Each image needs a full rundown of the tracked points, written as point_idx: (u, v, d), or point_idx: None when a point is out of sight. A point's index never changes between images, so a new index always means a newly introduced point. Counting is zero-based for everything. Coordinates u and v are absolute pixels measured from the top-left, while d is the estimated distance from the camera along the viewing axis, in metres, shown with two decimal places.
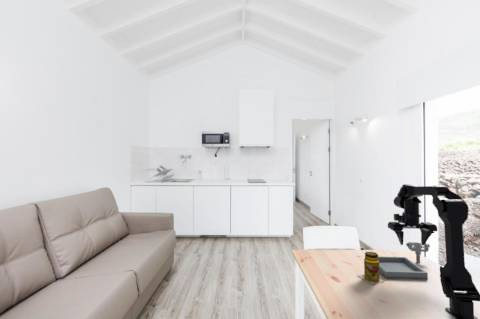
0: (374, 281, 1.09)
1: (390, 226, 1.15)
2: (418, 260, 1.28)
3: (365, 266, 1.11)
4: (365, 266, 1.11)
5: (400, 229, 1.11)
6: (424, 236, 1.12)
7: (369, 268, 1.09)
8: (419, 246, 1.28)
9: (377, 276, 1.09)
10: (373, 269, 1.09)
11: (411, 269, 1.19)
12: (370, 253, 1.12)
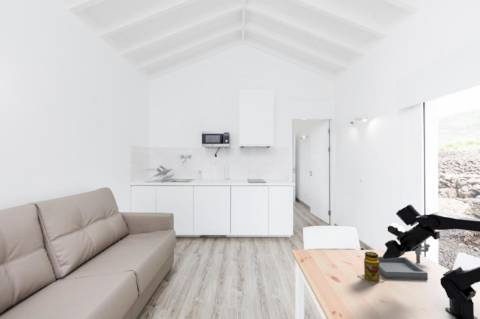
0: (374, 281, 1.09)
1: (391, 249, 0.96)
2: (418, 260, 1.28)
3: (365, 266, 1.11)
4: (365, 266, 1.11)
5: (401, 255, 0.96)
6: (404, 249, 1.05)
7: (369, 268, 1.09)
8: None
9: (377, 276, 1.09)
10: (373, 269, 1.09)
11: (411, 269, 1.19)
12: (370, 253, 1.12)
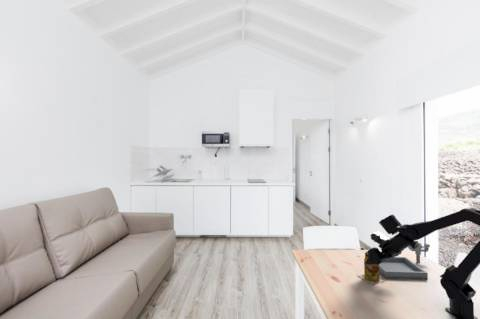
0: (374, 281, 1.09)
1: (373, 256, 1.02)
2: (418, 260, 1.28)
3: (365, 266, 1.11)
4: (365, 266, 1.11)
5: (381, 262, 1.02)
6: (385, 256, 1.11)
7: (369, 268, 1.09)
8: (419, 246, 1.28)
9: (377, 276, 1.09)
10: (373, 269, 1.09)
11: (411, 269, 1.19)
12: None
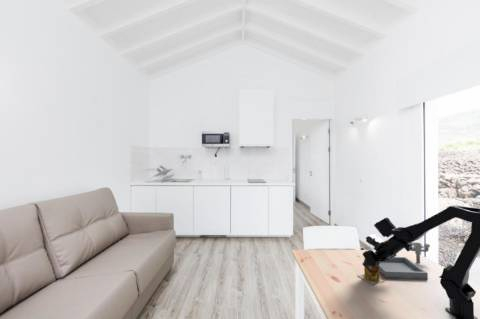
0: (374, 281, 1.09)
1: (368, 259, 1.03)
2: (418, 260, 1.28)
3: (365, 266, 1.11)
4: None
5: None
6: (379, 259, 1.12)
7: (369, 268, 1.09)
8: (419, 246, 1.28)
9: (377, 276, 1.09)
10: (373, 268, 1.09)
11: (411, 269, 1.19)
12: None
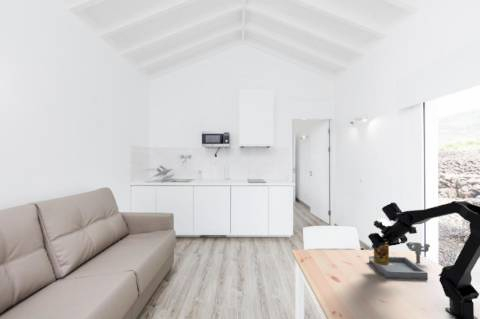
0: (382, 263, 1.13)
1: (372, 240, 1.09)
2: (418, 260, 1.28)
3: (374, 249, 1.16)
4: None
5: (381, 246, 1.09)
6: (389, 243, 1.16)
7: (377, 250, 1.14)
8: (419, 246, 1.28)
9: (385, 259, 1.13)
10: (381, 251, 1.13)
11: (411, 269, 1.19)
12: None
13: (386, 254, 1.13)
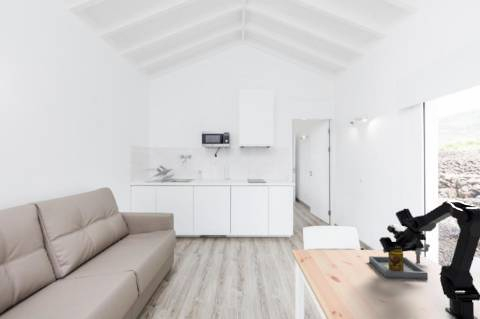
0: None
1: (382, 244, 1.14)
2: (418, 260, 1.28)
3: None
4: None
5: (391, 250, 1.13)
6: (407, 248, 1.18)
7: (390, 258, 1.18)
8: None
9: (398, 267, 1.16)
10: (394, 259, 1.17)
11: (411, 269, 1.19)
12: None
13: (399, 262, 1.16)
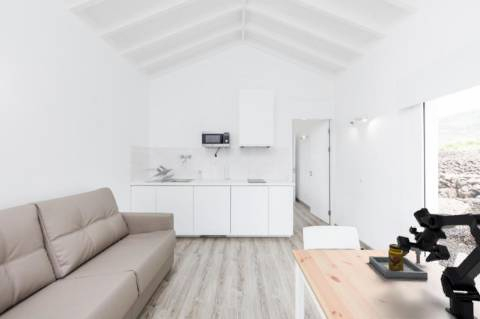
0: None
1: (398, 241, 1.08)
2: (418, 260, 1.28)
3: None
4: None
5: (406, 249, 1.05)
6: (431, 257, 1.06)
7: (390, 258, 1.18)
8: None
9: (398, 267, 1.16)
10: (394, 259, 1.17)
11: (411, 269, 1.19)
12: (394, 245, 1.19)
13: (399, 262, 1.16)
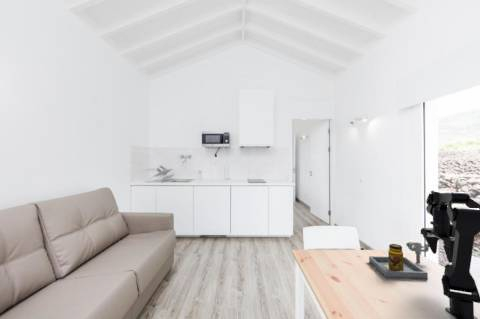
0: None
1: None
2: (418, 260, 1.28)
3: None
4: None
5: (423, 233, 1.10)
6: None
7: (390, 258, 1.18)
8: (419, 246, 1.28)
9: (398, 267, 1.16)
10: (394, 259, 1.17)
11: (411, 269, 1.19)
12: (394, 245, 1.19)
13: (399, 262, 1.16)
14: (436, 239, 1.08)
